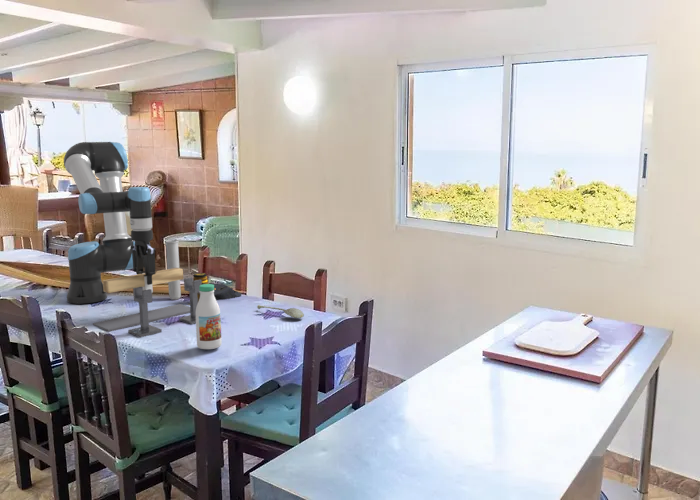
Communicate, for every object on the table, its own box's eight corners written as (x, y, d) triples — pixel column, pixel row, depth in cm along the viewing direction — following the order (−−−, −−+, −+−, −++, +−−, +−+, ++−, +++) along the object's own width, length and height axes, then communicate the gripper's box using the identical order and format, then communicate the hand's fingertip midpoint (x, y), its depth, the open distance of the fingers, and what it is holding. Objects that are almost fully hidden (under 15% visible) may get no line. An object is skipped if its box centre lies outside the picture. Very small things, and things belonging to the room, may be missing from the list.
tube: (183, 300, 252) (180, 241, 248) (171, 302, 249) (168, 242, 245) (178, 297, 256) (175, 239, 252) (166, 299, 253) (163, 240, 249)
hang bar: (103, 291, 214) (102, 280, 213) (177, 277, 236) (177, 267, 235) (108, 293, 211) (108, 281, 211) (183, 279, 233) (182, 269, 233)
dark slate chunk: (223, 288, 276) (223, 277, 275) (243, 297, 258) (243, 286, 257) (191, 292, 268) (190, 282, 267) (209, 303, 250) (209, 291, 249)
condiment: (212, 300, 251) (211, 272, 249) (203, 306, 243) (202, 276, 241) (196, 300, 252) (194, 272, 250) (187, 305, 244) (185, 276, 242)
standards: (128, 332, 208) (125, 289, 205) (197, 315, 228) (195, 276, 226) (140, 337, 203) (137, 292, 200) (210, 319, 223) (208, 279, 221)
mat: (92, 325, 217) (92, 323, 217) (180, 305, 243) (180, 303, 243) (108, 332, 209) (108, 329, 209) (197, 311, 235) (197, 309, 235)
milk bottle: (192, 348, 191) (188, 286, 188) (206, 341, 198) (203, 281, 195) (212, 351, 189) (210, 288, 185) (226, 343, 196) (223, 283, 192)
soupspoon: (295, 321, 223) (307, 317, 228) (295, 313, 222) (307, 309, 228) (252, 310, 236) (264, 306, 241) (252, 302, 235) (264, 298, 240)
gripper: (120, 228, 223) (124, 290, 227) (144, 232, 212) (148, 297, 216) (139, 226, 229) (143, 286, 233) (163, 230, 218) (167, 293, 221)
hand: (145, 291), depth 224 cm, fingers closed on hang bar, 4 cm apart
